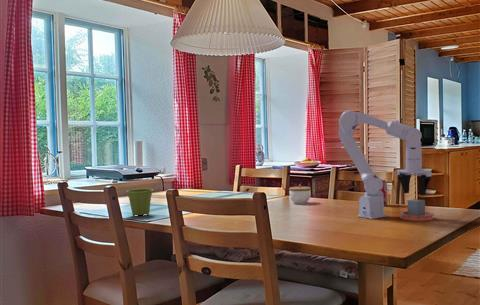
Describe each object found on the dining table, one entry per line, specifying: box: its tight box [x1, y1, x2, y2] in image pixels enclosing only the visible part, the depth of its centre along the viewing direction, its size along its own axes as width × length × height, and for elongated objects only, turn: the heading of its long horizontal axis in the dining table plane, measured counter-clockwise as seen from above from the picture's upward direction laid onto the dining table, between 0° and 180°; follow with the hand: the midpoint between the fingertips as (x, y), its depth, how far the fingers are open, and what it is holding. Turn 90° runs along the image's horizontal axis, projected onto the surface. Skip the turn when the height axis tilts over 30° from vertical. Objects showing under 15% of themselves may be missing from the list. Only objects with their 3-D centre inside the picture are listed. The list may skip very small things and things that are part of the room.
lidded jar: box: [288, 183, 312, 205], centre depth 231 cm, size 11×11×9 cm
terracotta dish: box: [399, 210, 434, 222], centre depth 180 cm, size 12×12×2 cm
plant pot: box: [125, 188, 154, 216], centre depth 208 cm, size 12×12×11 cm
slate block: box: [407, 198, 426, 215], centre depth 180 cm, size 4×4×6 cm
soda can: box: [380, 178, 388, 207], centre depth 216 cm, size 7×7×12 cm
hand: (414, 194), depth 181 cm, fingers open, 7 cm apart
